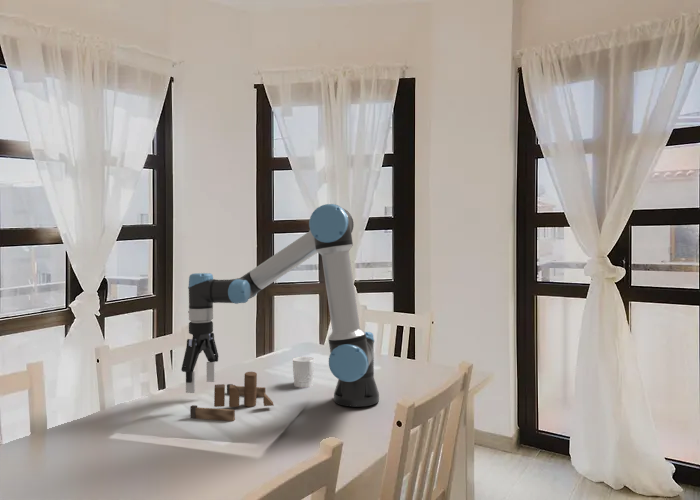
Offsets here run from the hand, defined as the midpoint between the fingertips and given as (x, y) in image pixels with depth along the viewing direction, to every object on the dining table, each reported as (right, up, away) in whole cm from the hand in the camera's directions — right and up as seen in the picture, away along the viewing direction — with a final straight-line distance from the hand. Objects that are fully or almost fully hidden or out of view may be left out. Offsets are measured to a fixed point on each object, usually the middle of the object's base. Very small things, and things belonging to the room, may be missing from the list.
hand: (201, 387), depth 167 cm
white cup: (+31, -6, +22) cm, 39 cm away
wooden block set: (+14, -6, -3) cm, 16 cm away
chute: (+11, -6, -2) cm, 12 cm away
